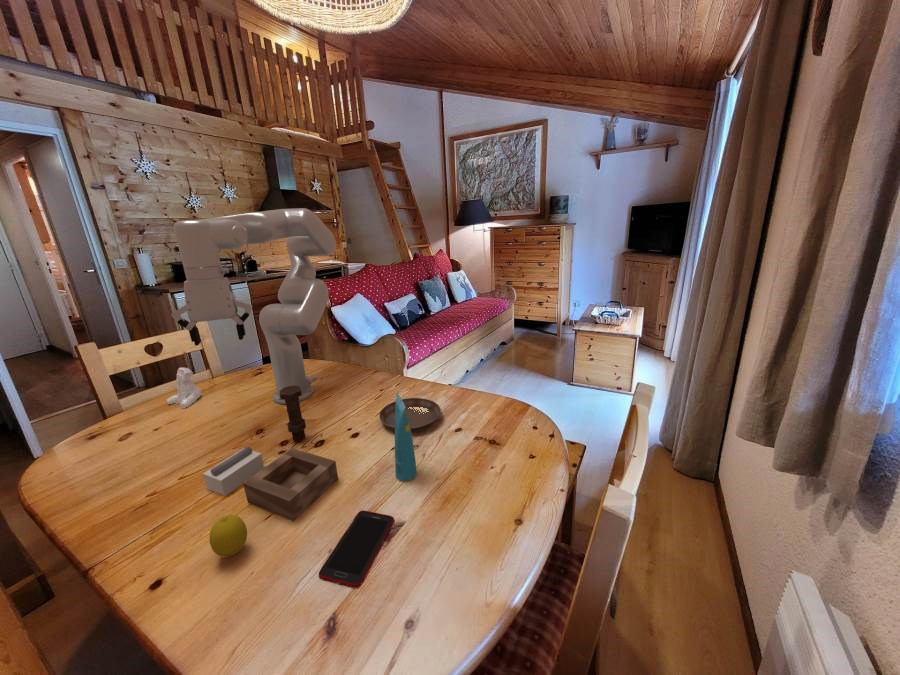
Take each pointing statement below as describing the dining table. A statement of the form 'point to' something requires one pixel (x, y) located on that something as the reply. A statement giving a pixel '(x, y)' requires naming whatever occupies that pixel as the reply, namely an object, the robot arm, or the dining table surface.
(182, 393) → the seated beast figurine
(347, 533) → the cell phone
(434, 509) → the dining table surface
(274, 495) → the socket
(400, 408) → the tube
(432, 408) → the plant saucer
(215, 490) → the pin mount
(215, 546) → the lemon
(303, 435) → the bolt
